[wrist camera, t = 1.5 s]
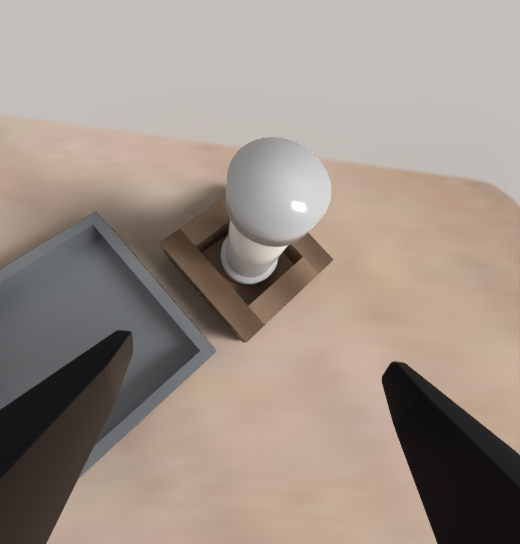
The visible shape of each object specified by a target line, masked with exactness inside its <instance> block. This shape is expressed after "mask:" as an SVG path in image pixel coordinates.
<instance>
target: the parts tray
mask: <svg viewBox="0 0 520 544" xmlns="http://www.w3.org/2000/svg"><path fill="white" fill-rule="evenodd" d="M117 330H126V331H131V332H132V336H133V354H132V358H131V361H130V363H129V366H128V369H127V372H126V374H125V377H124V380H123V383H122V385H121V388H120V391H119V394H118V396H117V399H116V401H115V404H114V406H113V408H112V411H111V413H110V415H109V417H108V419H107V421H106V423H105V425H104V427H103V429H102V431H101V433H100V435H99V437H98V439H97V441H96V443H95V445H94V447H93V449H92V451H91V454H90V456H89V458H88V460H87V462H86V464H85V466H84V468H83V470H82V472H81V474H80V476H79V478H80V477H81V476H82V475H83V474H84V473H85V472H86V471H87V470H88V469H89V468H90V467H91V466H93V465H94V464H95V463H96V462H97V461H98V460H99V459H100V458H101V457H102V456H103V455H104V454H106V453H107V452H108V451H109V450H110V449H111V448H112V447H113V446H114V445H115V444H116V443H117V442H119V441H120V440H121V439H122V438H123V437H124V436H125V435H126V434H127V433H128V432H129V431H131V430H132V429H133V428H134V427H135V426H136V425H137V424H138V423H139V422H140V421H141V420H142V419H144V418H145V417H146V416H147V415H148V414H149V413H150V412H151V411H152V410H153V409H154V408H155V407H157V406H158V405H159V404H160V403H161V402H162V401H163V400H164V399H165V398H166V397H167V396H168V395H170V394H171V393H172V392H173V391H174V390H175V389H176V388H177V387H178V386H179V385H180V384H181V383H183V382H184V381H185V380H186V379H187V378H188V377H189V376H190V375H191V374H192V373H193V372H195V371H196V370H197V369H198V368H199V367H200V366H201V365H202V364H203V363H204V362H205V361H206V360H208V359H209V358H210V357H211V356H212V355H213V354H214V353H215V352H216V349H215V348H214V347H213V346H212V345H211V343H210V342H209V341H208V340H207V339H206V338H205V336H204V335H203V334H202V333H201V332H200V331H199V329H198V328H197V327H196V326H195V325H194V324H193V322H192V321H191V320H190V319H189V318H188V317H187V315H186V314H185V313H184V312H183V311H182V310H181V308H180V307H179V306H178V305H177V304H176V303H175V301H174V300H173V299H172V298H171V297H170V296H169V294H168V293H167V292H166V291H165V290H164V289H163V287H162V286H161V285H160V284H159V283H158V282H157V280H156V279H155V278H154V277H153V276H152V275H151V273H150V272H149V271H148V270H147V269H146V268H145V266H144V265H143V264H142V263H141V262H140V261H139V259H138V258H137V257H136V256H135V255H134V254H133V252H132V251H131V250H130V249H129V248H128V247H127V245H126V244H125V243H124V242H123V241H122V240H121V238H120V237H119V236H118V235H117V234H116V233H115V231H114V230H113V229H112V228H111V227H110V226H109V225H108V223H107V222H106V221H105V220H104V219H103V218H102V217H101V216H100V215H99V214H98V213H97V211H96V212H94V213H92V214H91V215H89V216H87V217H86V218H84V219H82V220H81V221H79V222H77V223H76V224H74V225H72V226H71V227H69V228H68V229H66V230H64V231H63V232H61V233H59V234H58V235H56V236H54V237H53V238H51V239H49V240H48V241H46V242H44V243H43V244H41V245H39V246H38V247H36V248H34V249H33V250H31V251H30V252H28V253H26V254H25V255H23V256H21V257H20V258H18V259H16V260H15V261H13V262H11V263H10V264H8V265H6V266H5V267H3V268H1V269H0V409H1V408H3V407H4V406H6V405H7V404H9V403H10V402H12V401H13V400H15V399H16V398H18V397H19V396H21V395H22V394H23V393H25V392H26V391H28V390H29V389H31V388H32V387H34V386H35V385H37V384H38V383H40V382H41V381H43V380H44V379H46V378H47V377H49V376H50V375H51V374H53V373H54V372H56V371H57V370H59V369H60V368H62V367H63V366H65V365H66V364H68V363H69V362H71V361H72V360H74V359H75V358H76V357H78V356H79V355H81V354H82V353H84V352H85V351H87V350H88V349H90V348H91V347H93V346H94V345H96V344H97V343H99V342H100V341H101V340H103V339H104V338H106V337H107V336H109V335H110V334H112V333H113V332H115V331H117Z"/></svg>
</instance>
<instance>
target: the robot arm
mask: <svg viewBox="0 0 520 544" xmlns="http://www.w3.org/2000/svg"><path fill="white" fill-rule="evenodd" d="M132 354H133V336H132V332H131V331H126V330H117V331H115V332H113V333H112V334H110V335H109V336H107V337H106V338H104V339H103V340H101V341H100V342H99V343H97V344H96V345H94V346H93V347H91V348H90V349H88V350H87V351H85V352H84V353H82V354H81V355H79V356H78V357H76V358H75V359H74V360H72V361H71V362H69V363H68V364H66V365H65V366H63V367H62V368H60V369H59V370H57V371H56V372H54V373H53V374H51V375H50V376H49V377H47V378H46V379H44V380H43V381H41V382H40V383H38V384H37V385H35V386H34V387H32V388H31V389H29V390H28V391H26V392H25V393H23V394H22V395H21V396H19V397H18V398H16V399H15V400H13V401H12V402H10V403H9V404H7V405H6V406H4V407H3V408H1V409H0V544H46V543H47V541H48V539H49V537H50V535H51V533H52V531H53V529H54V527H55V525H56V523H57V521H58V519H59V517H60V515H61V513H62V511H63V509H64V506H65V504H66V502H67V500H68V498H69V496H70V494H71V492H72V490H73V488H74V486H75V484H76V482H77V480H78V478H79V476H80V474H81V472H82V470H83V468H84V466H85V464H86V462H87V460H88V458H89V456H90V454H91V451H92V449H93V447H94V445H95V443H96V441H97V439H98V437H99V435H100V433H101V431H102V429H103V427H104V425H105V423H106V421H107V419H108V417H109V415H110V413H111V411H112V408H113V406H114V404H115V401H116V399H117V396H118V394H119V391H120V388H121V385H122V383H123V380H124V377H125V374H126V372H127V369H128V366H129V363H130V361H131V358H132ZM382 384H383V388H384V392H385V395H386V399H387V403H388V406H389V410H390V414H391V417H392V421H393V424H394V427H395V430H396V433H397V436H398V438H399V441H400V444H401V447H402V449H403V452H404V455H405V457H406V460H407V463H408V465H409V468H410V471H411V473H412V476H413V479H414V482H415V484H416V487H417V490H418V492H419V495H420V498H421V500H422V503H423V506H424V509H425V511H426V514H427V517H428V519H429V522H430V525H431V527H432V530H433V533H434V535H435V538H436V541H437V544H520V455H519V454H518V453H517V452H516V451H515V450H513V449H512V448H511V447H510V446H508V445H507V444H506V443H505V442H503V441H502V440H501V439H500V438H498V437H497V436H496V435H495V434H493V433H492V432H491V431H490V430H488V429H487V428H486V427H485V426H483V425H482V424H481V423H480V422H478V421H477V420H476V419H475V418H473V417H472V416H471V415H470V414H468V413H467V412H466V411H464V410H463V409H462V408H461V407H459V406H458V405H457V404H456V403H454V402H453V401H452V400H451V399H449V398H448V397H447V396H446V395H444V394H443V393H442V392H441V391H439V390H438V389H437V388H436V387H434V386H433V385H432V384H431V383H429V382H428V381H427V380H426V379H424V378H423V377H422V376H421V375H419V374H418V373H417V372H416V371H414V370H413V369H412V368H411V367H409V366H408V365H407V364H405V363H403V362H396V361H394V362H391V363H390V365H389V366H388V368H387V369H386V371H385V373H384V374H383V376H382Z"/></svg>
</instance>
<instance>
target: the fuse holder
mask: <svg viewBox="0 0 520 544" xmlns="http://www.w3.org/2000/svg"><path fill="white" fill-rule="evenodd" d="M229 226H230V218H229V216H228V213H227V209H226V203H225V197H224V198H223V199H221V200H220V201H218V202H217V203H216V204H214V205H213V206H211V207H210V208H208V209H207V210H206V211H204V212H203V213H201V214H200V215H198V216H197V217H196V218H194V219H193V220H191V221H190V222H189V223H187V224H186V225H184V226H183V227H181V228H180V229H179V230H177V231H176V232H174V233H173V234H171V235H170V236H169V237H167V238H166V239H164V240H163V241H161V242H160V245H161V246H162V248H163V250H164V252H165V253H166V255H167V256H168V257H169V259H170V260H171V261H172V262H173V263H174V264H175V265H176V267H177V268H178V269H179V270H180V271H181V272H182V274H183V275H184V276H185V277H186V278H187V279H188V280H189V282H190V283H191V284H192V285H193V286H194V287H195V288H196V290H197V291H198V292H199V293H200V294H201V295H202V297H203V298H204V299H205V300H206V301H207V302H208V303H209V305H210V306H211V307H212V308H213V309H214V310H215V312H216V313H217V314H218V315H219V316H220V317H221V318H222V320H223V321H224V322H225V323H226V324H227V325H228V326H229V328H230V329H231V330H232V331H233V332H234V333H235V335H236V336H237V337H238V338H239V339H240V340H241V341H242V342H247V341H248V340H249V339H251V338H252V337H253V336H254V335H255V334H256V333H257V332H258V331H259V330H260V329H261V328H262V327H263V326H264V325H265V324H266V323H267V322H268V321H269V320H271V319H272V318H273V317H274V316H275V315H276V314H277V313H278V312H279V311H280V310H281V309H282V308H283V307H284V306H285V305H286V304H287V303H288V302H289V301H290V300H292V299H293V298H294V297H295V296H296V295H297V294H298V293H299V292H300V291H301V290H302V289H303V288H304V287H305V286H306V285H307V284H308V283H309V282H310V281H312V280H313V279H314V278H315V277H316V276H317V275H318V274H319V273H320V272H321V271H322V270H323V269H324V268H325V267H326V266H327V265H328V264H329V263H330V262H332V261H333V259H332V258H331V257H330V256H329V254H328V253H327V252H326V251H325V250H324V249H323V248H322V247H321V246H320V245H319V244H318V243H317V242H316V241H315V239H314V238H313V237H312V236H311V235H310V234H309V233H307V234H306V235H305V236H304V237H303V238H302V239H301V240H299V241H297V242H295V243H293V244H291V245H288V246H287V247H286V248H285V250H284V251H283V252H282V253H281V255H280V256H279V257H278V262H277V265H276V268H275V270H274V271H273V272H272V274H271V275H270V276H269V277H268V278H267V279H266V280H265V281H264V282H262V283H261V284H259V285H256V286H251V287H245V286H240V285H237V284H235V283H233V282H232V281H230V280H229V279H228V278H227V277H226V275H225V274H224V272H223V270H222V268H221V263H220V257H221V248H222V244H223V242H224V240H225V239H226V237H227V236H228V233H229Z"/></svg>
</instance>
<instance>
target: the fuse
mask: <svg viewBox="0 0 520 544" xmlns="http://www.w3.org/2000/svg"><path fill="white" fill-rule="evenodd" d="M330 199H331V183H330V179H329V176H328V173H327V171H326V169H325V167H324V166H323V164H322V163H321V161H320V160H319V159H318V158H317V157H316V156H315V155H314V154H313V153H312V152H311V151H309V150H308V149H307V148H305V147H303V146H302V145H300V144H298V143H296V142H293V141H291V140H287V139H283V138H262V139H258V140H255V141H252V142H250V143H248V144H246V145H245V146H244V147H242V148H241V149H240V150H239V151H238V152H237V153H236V154H235V156H234V157H233V159H232V161H231V163H230V165H229V168H228V174H227V185H226V197H225V203H226V209H227V213H228V216H229V218H230V226H229V233H228V236H227V237H226V239H225V240H224V242H223V244H222V248H221V257H220V263H221V268H222V270H223V272H224V274H225V275H226V277H227V278H228V279H229V280H230V281H232V282H233V283H235V284H237V285H240V286H245V287H251V286H256V285H259V284H261V283H262V282H264V281H265V280H266V279H267V278H268V277H269V276H270V275H271V274H272V272H273V271H274V270H275V268H276V265H277V262H278V257H279V256H280V255H281V253H282V252H283V251H284V250H285V248H286V247H287V246H288V245H291V244H293V243H295V242H297V241H299V240H301V239H302V238H303V237H304V236H305V235H306V234H307V233H308V232H309V231H310V230H311V229H312V228H313V227H314V226H315V224H316V223H317V222H318V221H319V220H320V219H321V218H322V217H323V215H324V214H325V212H326V210H327V209H328V206H329V203H330Z"/></svg>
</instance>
